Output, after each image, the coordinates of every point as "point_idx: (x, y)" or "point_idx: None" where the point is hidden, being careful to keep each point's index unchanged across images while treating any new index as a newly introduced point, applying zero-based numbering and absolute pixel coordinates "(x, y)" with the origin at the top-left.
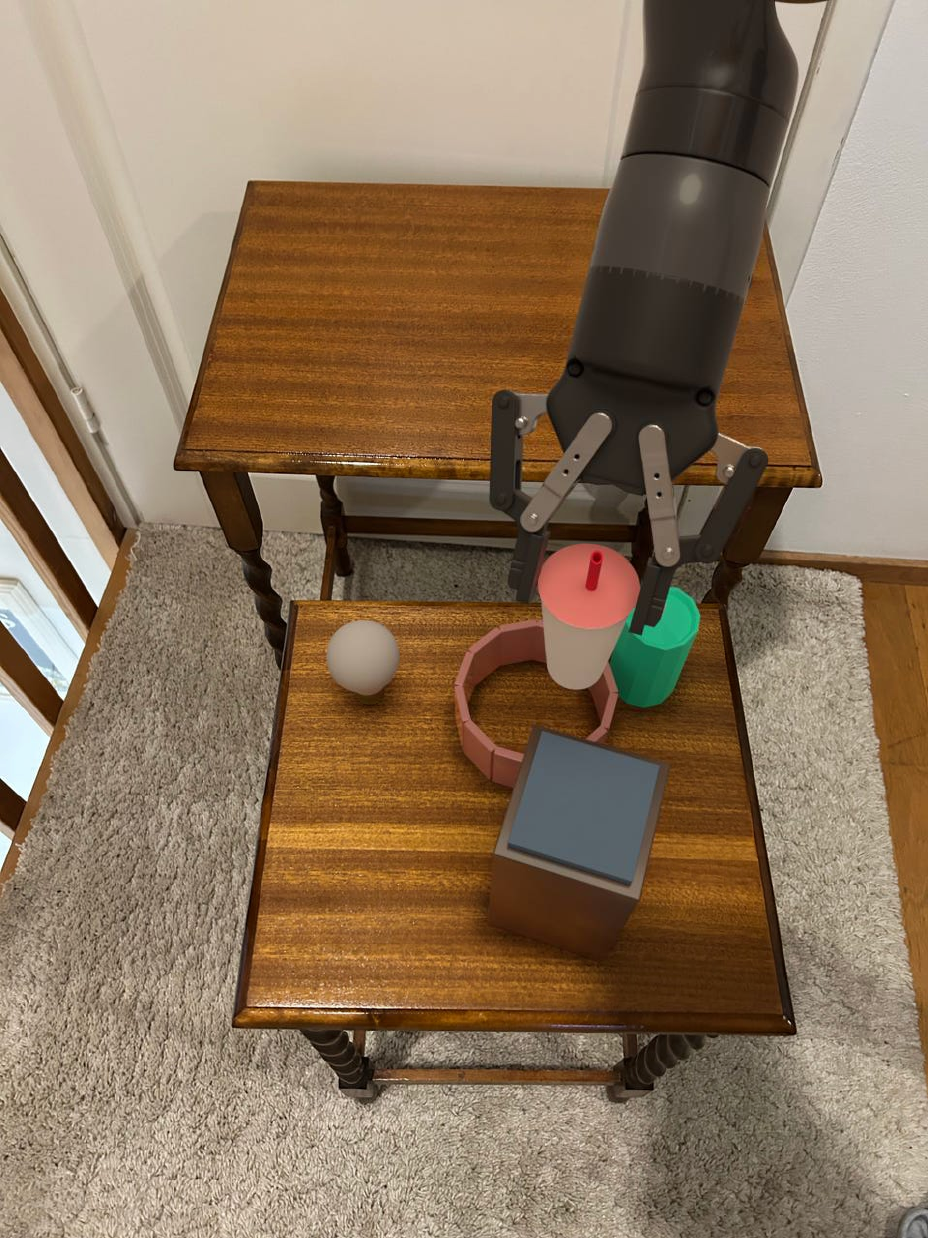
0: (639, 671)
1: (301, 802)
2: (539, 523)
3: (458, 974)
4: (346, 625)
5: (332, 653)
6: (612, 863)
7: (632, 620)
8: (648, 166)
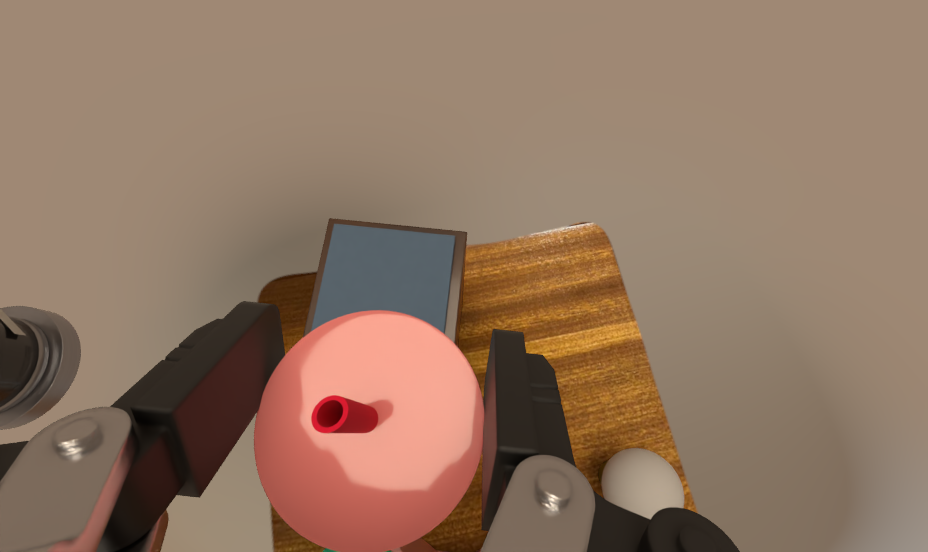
0: None
1: (626, 360)
2: (524, 481)
3: (475, 264)
4: None
5: (676, 476)
6: (353, 235)
7: (259, 311)
8: None
